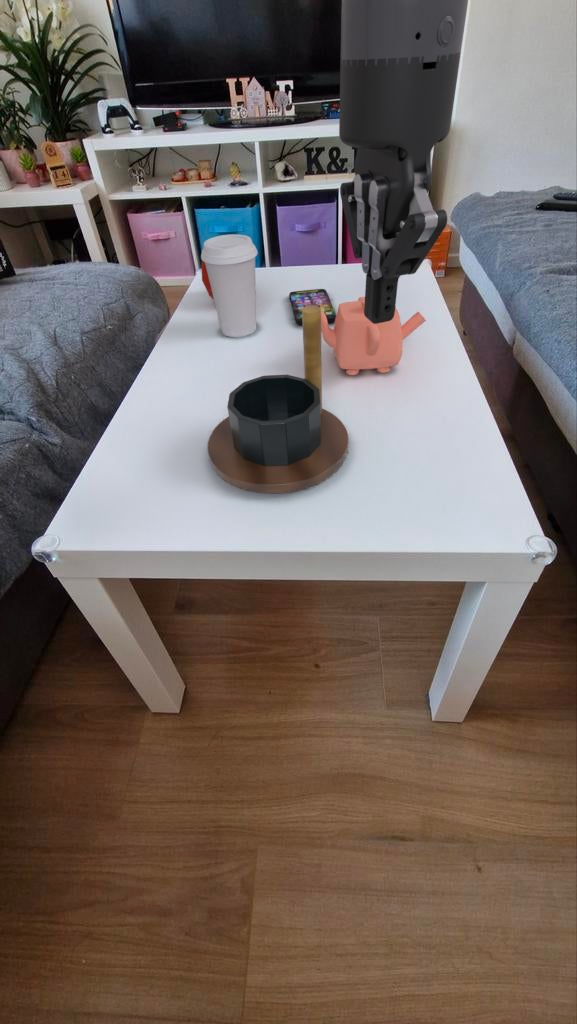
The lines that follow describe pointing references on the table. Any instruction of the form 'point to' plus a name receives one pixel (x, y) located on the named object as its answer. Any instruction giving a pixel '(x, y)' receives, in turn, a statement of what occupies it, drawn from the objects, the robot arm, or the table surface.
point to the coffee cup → (232, 282)
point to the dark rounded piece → (281, 427)
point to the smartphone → (311, 303)
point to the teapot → (366, 338)
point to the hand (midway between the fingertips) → (378, 319)
